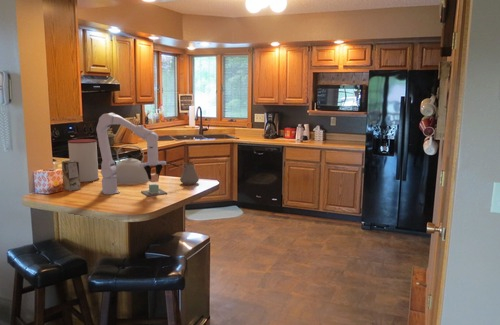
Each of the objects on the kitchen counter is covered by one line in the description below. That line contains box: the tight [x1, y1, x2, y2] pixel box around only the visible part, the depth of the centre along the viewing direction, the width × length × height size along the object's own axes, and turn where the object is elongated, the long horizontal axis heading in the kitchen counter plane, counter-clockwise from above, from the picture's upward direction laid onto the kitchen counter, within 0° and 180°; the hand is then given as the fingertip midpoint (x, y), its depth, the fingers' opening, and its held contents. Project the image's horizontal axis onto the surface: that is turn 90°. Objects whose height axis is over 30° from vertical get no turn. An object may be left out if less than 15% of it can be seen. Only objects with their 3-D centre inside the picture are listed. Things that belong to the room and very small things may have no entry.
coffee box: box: [61, 159, 81, 192], centre depth 242 cm, size 9×6×16 cm
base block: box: [148, 183, 160, 193], centre depth 234 cm, size 4×4×4 cm
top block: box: [148, 172, 160, 183], centre depth 233 cm, size 4×4×4 cm
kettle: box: [115, 144, 150, 185], centre depth 264 cm, size 25×23×22 cm
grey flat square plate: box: [140, 188, 168, 197], centre depth 234 cm, size 11×11×1 cm
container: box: [67, 138, 100, 184], centre depth 265 cm, size 17×17×25 cm
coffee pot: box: [165, 161, 200, 186], centre depth 253 cm, size 21×12×15 cm, turn 132°
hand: (153, 178), depth 233 cm, fingers closed on top block, 4 cm apart
